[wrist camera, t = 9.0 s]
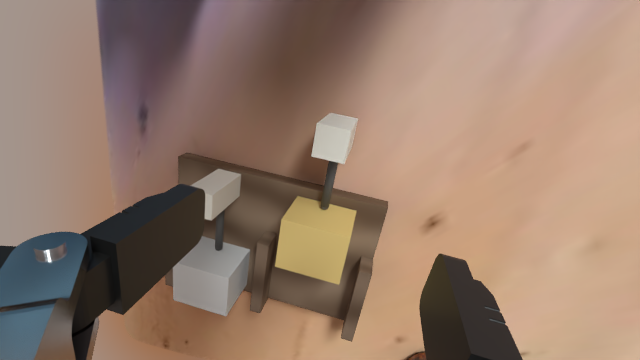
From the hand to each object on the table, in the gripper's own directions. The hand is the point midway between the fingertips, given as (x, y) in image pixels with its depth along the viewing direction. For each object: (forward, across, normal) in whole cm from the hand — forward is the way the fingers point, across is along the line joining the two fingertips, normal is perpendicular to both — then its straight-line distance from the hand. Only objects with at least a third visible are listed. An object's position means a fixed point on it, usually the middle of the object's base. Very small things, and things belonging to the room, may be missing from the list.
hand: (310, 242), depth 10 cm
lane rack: (+20, +6, +14) cm, 25 cm away
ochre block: (+18, +1, +6) cm, 19 cm away
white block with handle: (+18, +12, +14) cm, 26 cm away
